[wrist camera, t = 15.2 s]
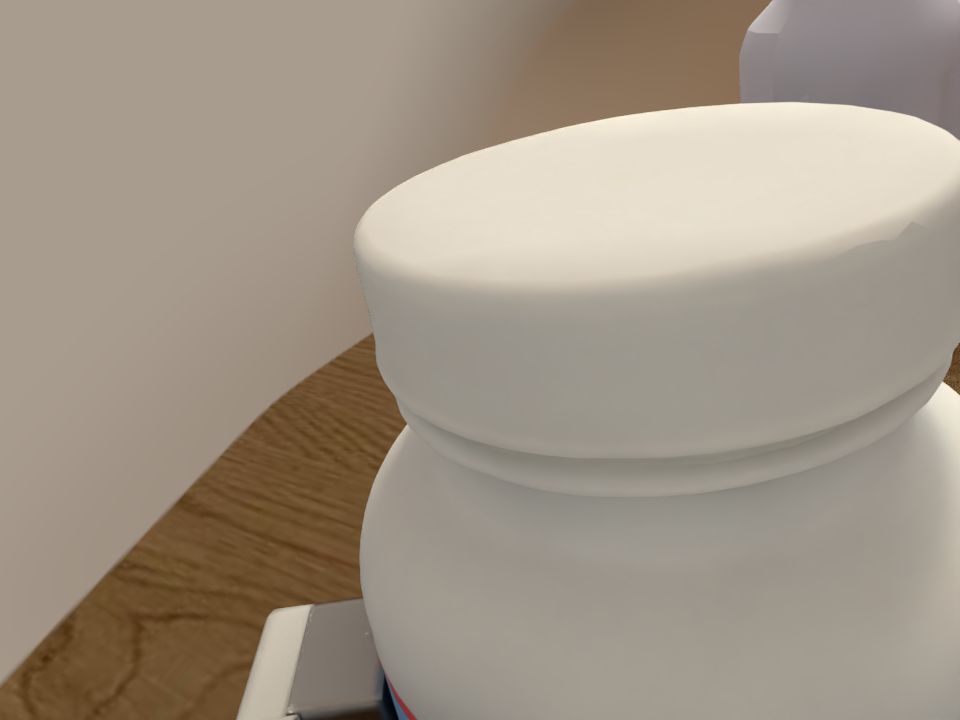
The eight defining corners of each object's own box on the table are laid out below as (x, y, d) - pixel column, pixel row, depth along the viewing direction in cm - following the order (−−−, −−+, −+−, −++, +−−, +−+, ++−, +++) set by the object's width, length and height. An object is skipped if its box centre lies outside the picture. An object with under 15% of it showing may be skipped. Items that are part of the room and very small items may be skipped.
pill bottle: (525, 757, 15) (380, 138, 10) (890, 773, 13) (936, 51, 8) (457, 1223, 9) (65, 383, 4) (1056, 1336, 8) (1449, 263, 3)
